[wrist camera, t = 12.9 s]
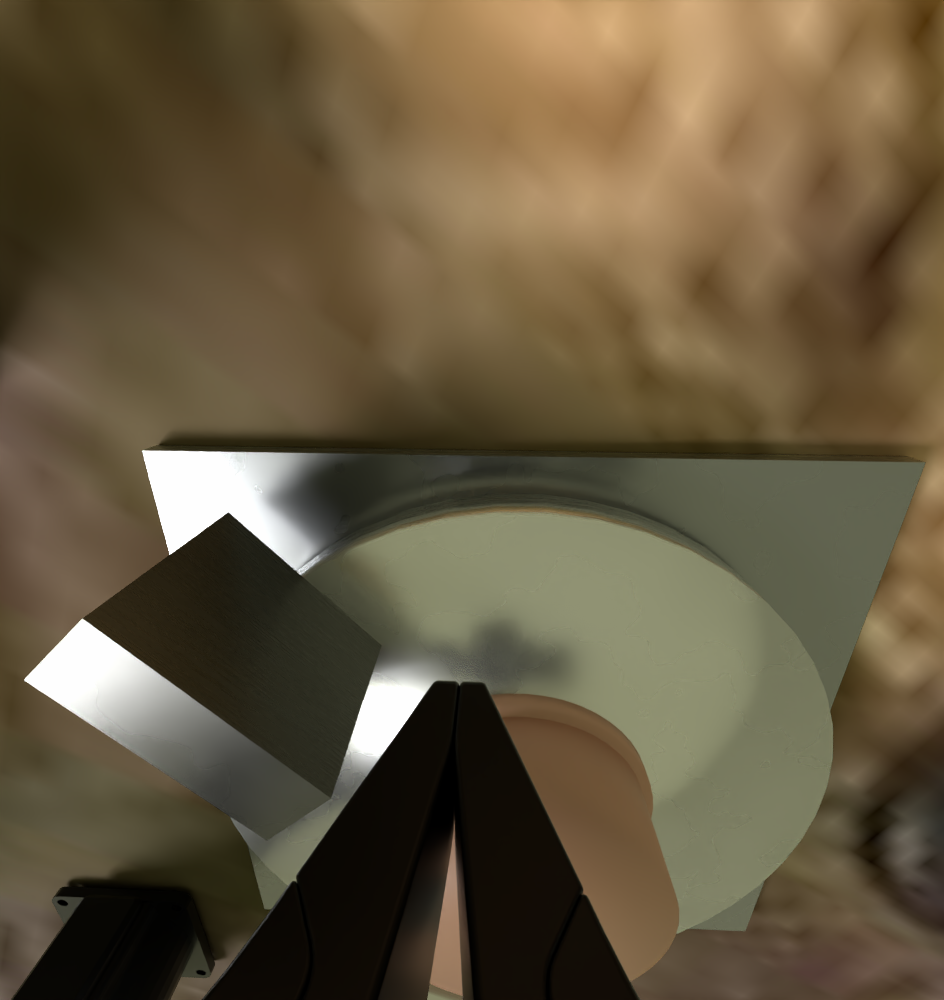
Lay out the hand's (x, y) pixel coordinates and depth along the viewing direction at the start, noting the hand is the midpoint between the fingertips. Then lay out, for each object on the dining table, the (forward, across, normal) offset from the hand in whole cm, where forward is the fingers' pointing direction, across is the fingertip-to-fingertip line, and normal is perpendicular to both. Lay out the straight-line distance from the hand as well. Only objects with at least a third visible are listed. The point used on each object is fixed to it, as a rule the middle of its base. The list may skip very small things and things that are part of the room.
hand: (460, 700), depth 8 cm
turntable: (+6, -1, +8) cm, 10 cm away
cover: (+5, -2, +9) cm, 10 cm away
